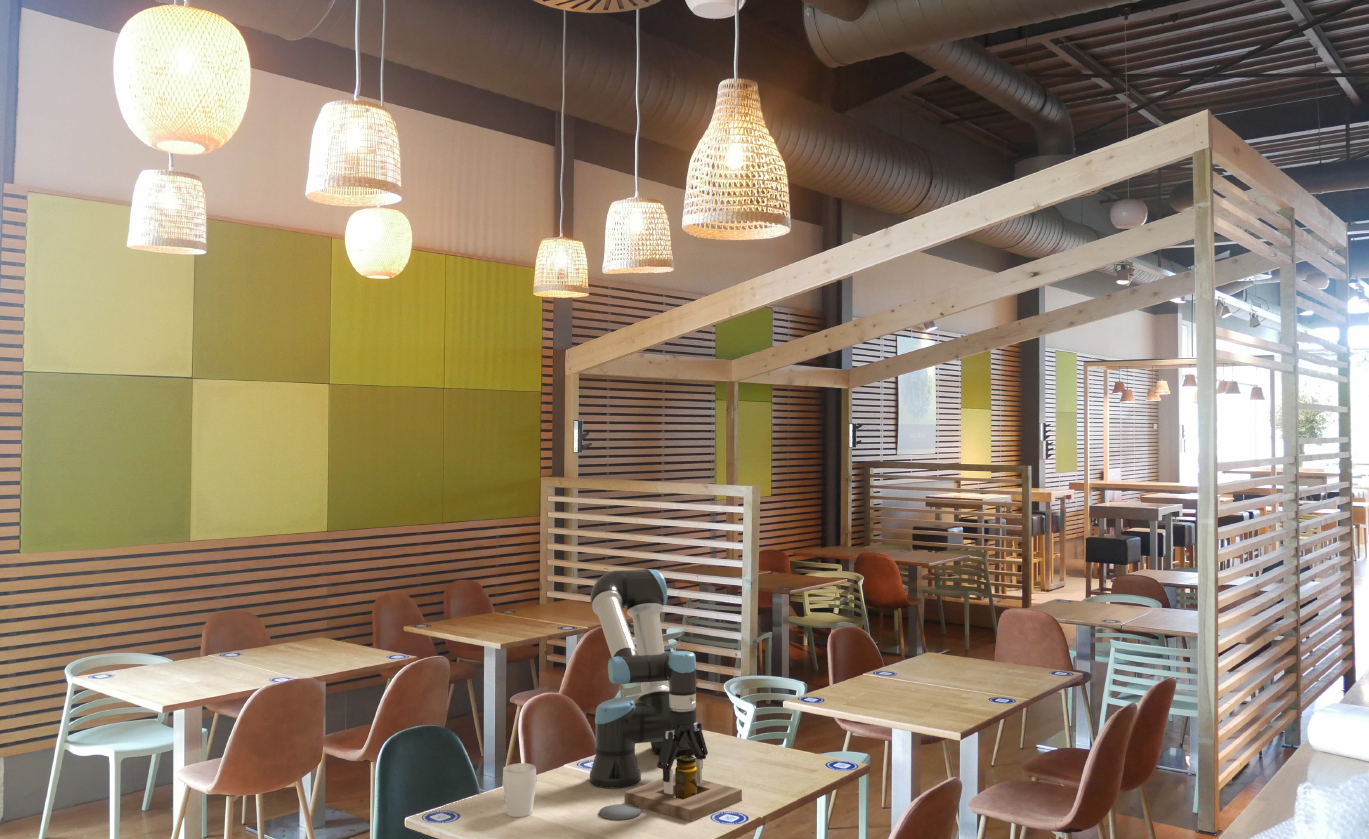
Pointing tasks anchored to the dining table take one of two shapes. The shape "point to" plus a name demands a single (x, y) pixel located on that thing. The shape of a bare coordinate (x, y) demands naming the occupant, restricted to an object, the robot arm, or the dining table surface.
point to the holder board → (688, 809)
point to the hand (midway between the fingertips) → (683, 787)
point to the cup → (519, 788)
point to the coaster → (620, 812)
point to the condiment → (685, 777)
